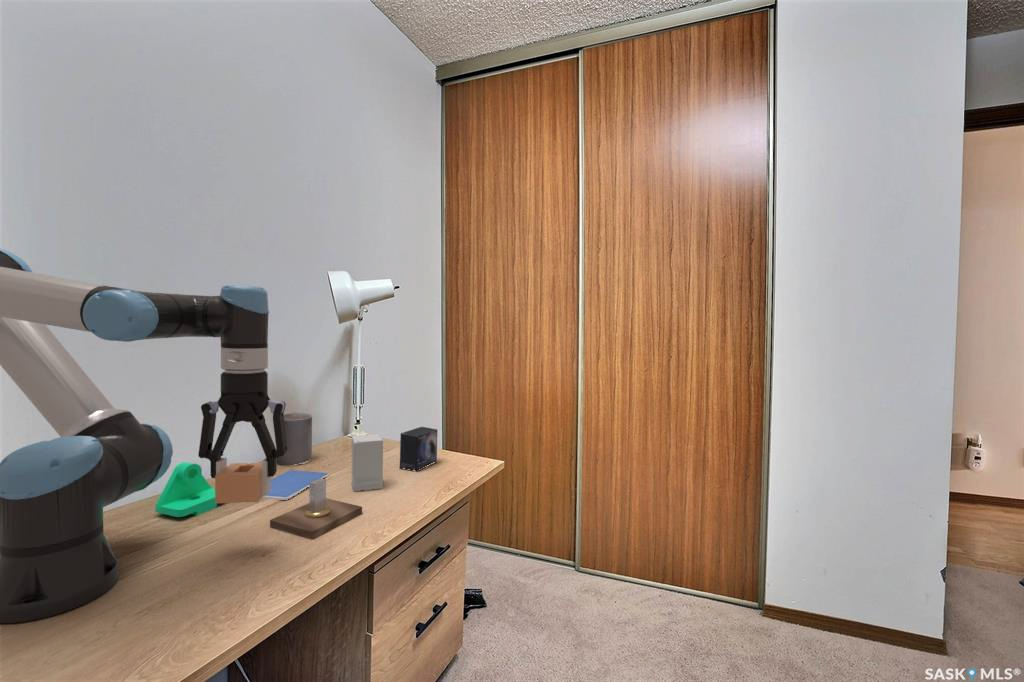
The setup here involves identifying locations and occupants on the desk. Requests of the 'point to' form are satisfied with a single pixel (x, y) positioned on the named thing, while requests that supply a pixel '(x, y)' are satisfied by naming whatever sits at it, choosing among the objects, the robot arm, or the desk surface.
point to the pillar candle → (297, 439)
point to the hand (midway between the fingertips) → (244, 493)
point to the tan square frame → (239, 483)
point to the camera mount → (186, 492)
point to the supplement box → (367, 462)
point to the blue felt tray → (291, 483)
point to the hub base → (316, 514)
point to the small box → (418, 448)
